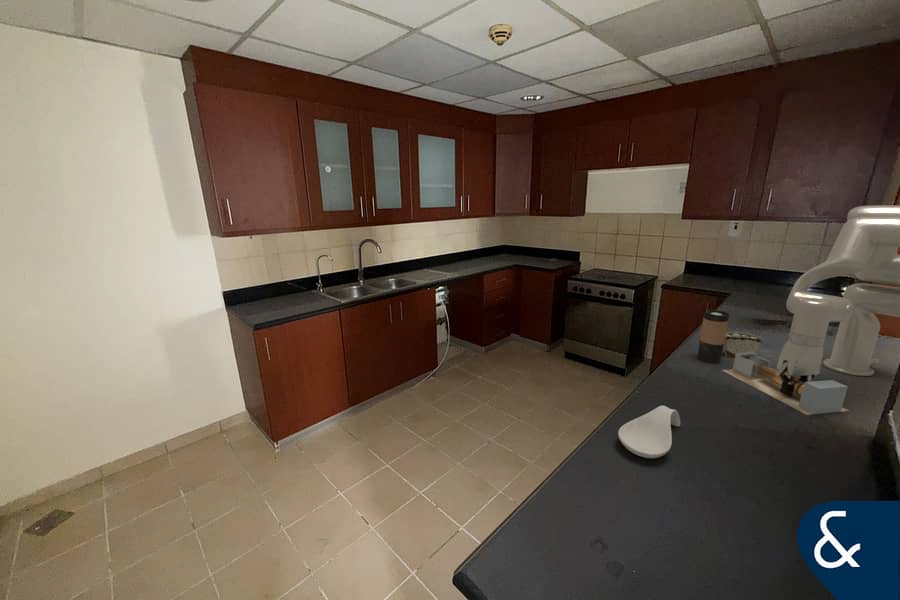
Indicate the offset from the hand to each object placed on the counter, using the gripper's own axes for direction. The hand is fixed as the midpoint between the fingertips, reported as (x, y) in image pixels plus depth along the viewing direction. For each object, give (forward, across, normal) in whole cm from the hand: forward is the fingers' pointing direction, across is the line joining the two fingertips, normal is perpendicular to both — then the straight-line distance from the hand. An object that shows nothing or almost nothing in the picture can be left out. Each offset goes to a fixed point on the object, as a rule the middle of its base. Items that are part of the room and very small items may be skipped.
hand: (792, 393), depth 113 cm
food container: (+2, -10, -30) cm, 32 cm away
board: (+2, 0, -5) cm, 5 cm away
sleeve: (+1, 0, -15) cm, 15 cm away
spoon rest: (+2, +56, +13) cm, 57 cm away
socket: (+1, 0, +8) cm, 8 cm away
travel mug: (+2, +4, -28) cm, 29 cm away
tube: (-1, 0, -1) cm, 2 cm away
